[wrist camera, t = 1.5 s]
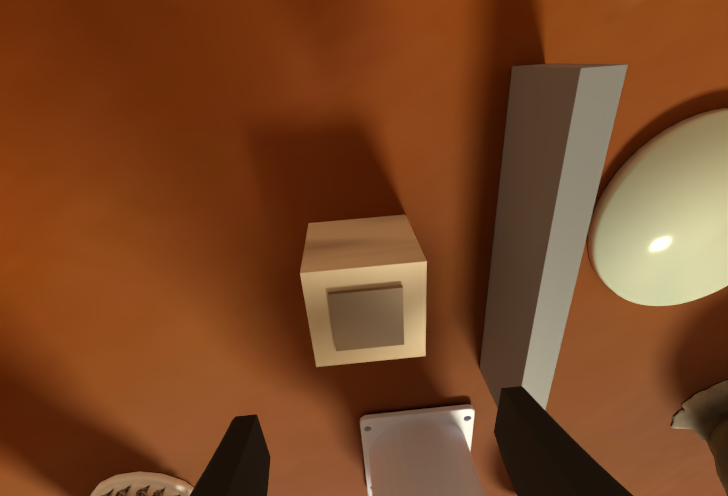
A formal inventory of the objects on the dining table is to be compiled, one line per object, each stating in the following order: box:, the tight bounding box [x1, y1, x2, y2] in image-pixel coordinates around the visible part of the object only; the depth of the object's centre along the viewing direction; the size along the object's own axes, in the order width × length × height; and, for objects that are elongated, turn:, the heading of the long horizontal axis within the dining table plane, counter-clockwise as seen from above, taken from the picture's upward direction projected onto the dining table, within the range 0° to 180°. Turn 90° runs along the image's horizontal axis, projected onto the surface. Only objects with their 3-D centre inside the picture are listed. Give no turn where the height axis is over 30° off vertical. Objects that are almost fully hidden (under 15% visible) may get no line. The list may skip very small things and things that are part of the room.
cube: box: [300, 214, 427, 367], centre depth 17 cm, size 5×5×5 cm
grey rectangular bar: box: [480, 64, 628, 410], centre depth 18 cm, size 18×2×5 cm, turn 4°
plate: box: [588, 108, 728, 306], centre depth 19 cm, size 11×11×1 cm
